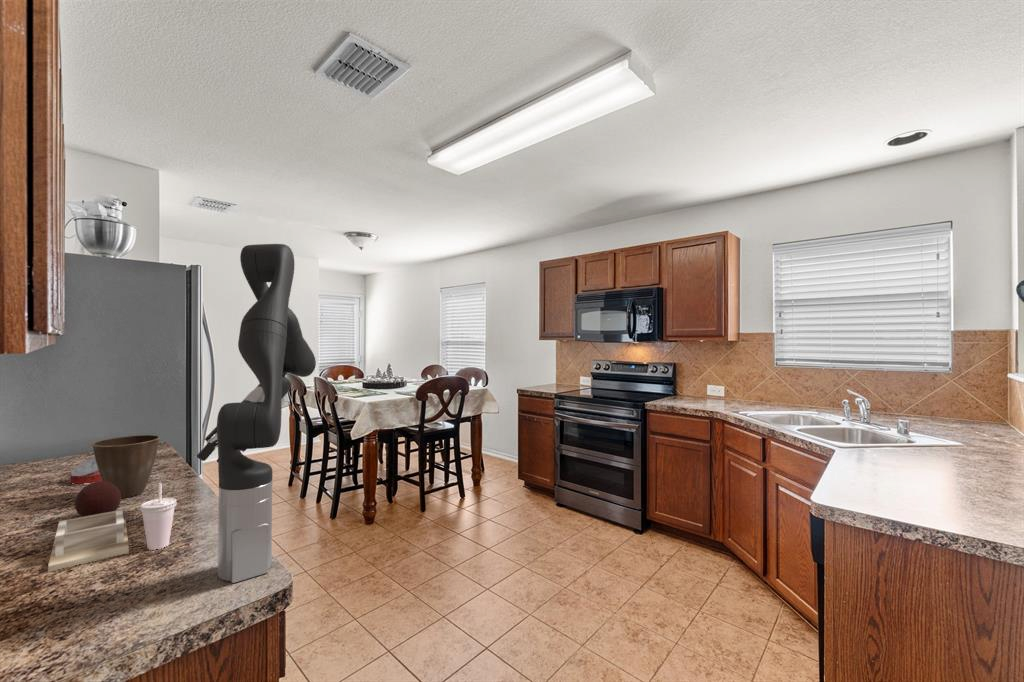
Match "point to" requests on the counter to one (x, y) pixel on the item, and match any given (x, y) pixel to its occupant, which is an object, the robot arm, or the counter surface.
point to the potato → (97, 499)
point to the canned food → (85, 472)
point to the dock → (89, 539)
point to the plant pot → (127, 462)
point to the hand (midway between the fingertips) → (209, 461)
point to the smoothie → (158, 520)
